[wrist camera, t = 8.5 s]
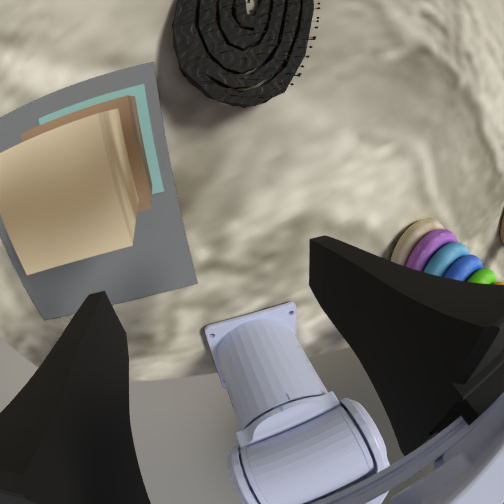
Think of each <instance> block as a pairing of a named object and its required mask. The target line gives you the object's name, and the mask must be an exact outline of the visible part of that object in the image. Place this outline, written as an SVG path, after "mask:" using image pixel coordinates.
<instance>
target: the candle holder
mask: <svg viewBox="0 0 504 504" xmlns="http://www.w3.org/2000/svg"><path fill="white" fill-rule="evenodd" d="M500 238H501V241H502V243H503V244H504V213H503V217H502V222H501V228H500Z"/></svg>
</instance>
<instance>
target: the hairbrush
mask: <svg viewBox="0 0 504 504" xmlns="http://www.w3.org/2000/svg"><path fill="white" fill-rule="evenodd" d="M248 1H249V2H248ZM248 1H247V2H248V3H250V0H248ZM216 2H217V0H200V1H199V4H198V9H197V18H196V20H197V26H198V32H197V29H196V27H195V25H194V19H195V11H196V4H197V0H178V2H177V7H176V12H175V17H174V21H173V25H172V27H173V40H174V49H175V52H176V55H177V58H178V62H179V67H180V71H181V72H182V74H183V75H184V76H185V77H186V78H187V80H188V81H189V82H190V83H191V84H192V85H194V86H195V87H196V88H198V89H199V90H200V91H201V92H202V93H203V94H204V95H205V96H206V97H208V98H211V99H214V100H217V101H220V102H223V103H226V104H229V105H232V106H240V107H243V108H245V107H249V106H256V105H258V104H262V103H266V102H267V101H268V100H270V99H271V98H273V97H275V96H277V95H279V94H282V93H284V92H285V91H286V89H287V87H288V85H289V83H290V82H291V80H292V78H293V76H298V77H300V75H301V73H298V75H294V74H295V73H296V71H297V69H298V67H299V66H300V64H301V62H302V60H303V59H304V57H305V54H306V48H307V43H308V40H315V38H316V36H314V37H309V32H310V27H311V21H312V16H313V10H314V3H313V0H301V2H300V0H286V1H285V9H284V0H271V3H270V0H258V9H257V11H256V12H255V14H254V15H248V14H247V10H246V1H245V0H235V1H234V3H233V0H219V1H218V21H215V19H216V18H217V17H216V7H217V6H216ZM300 3H301V6H300ZM232 4H234V7H232ZM318 4H320V3H318ZM269 6H270V11H269ZM232 8H233V16H232V15H231V9H232ZM315 9H320V7H318V8H315ZM283 11H284V15H283ZM249 12H252V10H250V11H249ZM268 12H270V13H268ZM299 12H300V13H299ZM268 14H269V17H268ZM282 16H283V19H282ZM298 17H299V19H298ZM267 18H268V22H267ZM317 19H319V17H317ZM235 20H236V21H235ZM282 20H283V21H282ZM281 21H282V23H281ZM297 21H298V24H297ZM216 22H217V24H216ZM313 22H315V21H313ZM316 22H319V21H318V20H317V21H316ZM267 23H268V24H267ZM266 24H267V25H266ZM265 25H266V26H267V29H266V28H265V29H266V31H265V30H264V31H263V29H264V27H265ZM297 25H298V26H297ZM296 26H297V30H296ZM240 27H241V28H240ZM280 27H281V28H280ZM243 28H244V29H243ZM315 28H318V27H315ZM280 31H281V33H280ZM264 32H265V33H264ZM198 33H199V34H198ZM262 33H263V35H262V38H261V40H260V42H259V43H258V44H257V45H256V46H255V47H253V48H251V49H250V50H248V51H246V52H243V51H242V50H245V49H247V48H249V47H251V46H252V45H253V44H254V43H255V42H257V41H258V40H259V39H260V36H261V34H262ZM199 36H200V37H199ZM294 36H295V37H294ZM308 38H313V39H308ZM224 40H225V41H224ZM293 40H294V41H293ZM225 42H226V43H225ZM275 46H276V47H275ZM274 47H275V49H274ZM309 48H312V46H309ZM273 49H274V50H273ZM205 50H206V51H207V53H208V54H209V56H208V54H207V53H206V51H205ZM272 50H273V51H272ZM271 51H272V53H271ZM270 53H271V54H270ZM269 54H270V56H269V57H268V55H269ZM210 57H211V59H212V60H213V61H212V60H211V59H210ZM267 57H268V59H267V60H266V61H265V59H266V58H267ZM306 57H307V58H308V57H309V56H306ZM264 61H265V63H264V64H263V66H262V67H261V68H260V69H259V70H258V71H256V72H253V73H251V74H248V75H241V74H240V73H243V74H244V73H246V72H248V71H251V70H253V69H254V68H256V67H258V66H260V65H262V63H263V62H264ZM284 61H285V63H284V64H283V65H282V66H281V64H282V63H283V62H284ZM280 66H281V67H280ZM279 67H280V68H279ZM301 67H304V66H303V65H302V66H301ZM278 69H279V70H278ZM225 70H226V71H227V72H231V73H233V74H231V73H227V72H226V71H225ZM276 71H277V72H276ZM275 73H276V74H275ZM274 74H275V75H274ZM273 75H274V76H273ZM272 76H273V77H272ZM269 77H272V79H270V80H268V81H267V82H265V83H264V84H262V85H261V86H259V87H256V88H253V89H250V90H247V91H239V92H236V91H233V90H230V89H227V88H233V89H239V88H248V87H250V86H254V85H256V84H258V83H260V82H262V81H263V80H265V79H267V78H269ZM215 83H217V84H218V85H220V86H218V85H215ZM290 85H294V84H293V83H291V84H290Z"/></svg>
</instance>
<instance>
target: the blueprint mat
mask: <svg viewBox="0 0 504 504" xmlns="http://www.w3.org/2000/svg"><path fill="white" fill-rule="evenodd" d="M127 95H129V96H135V99H136V105H137V111H138V117H139V122H140V128H141V133H142V138H143V143H144V148H145V153H146V158H147V163H148V167H149V172H150V176H151V181H152V204H151V209H148V210H144V211H141V212H137V216H136V223H135V230H134V238H133V246H130V247H126V248H122V249H118V250H115V251H111V252H107V253H103V254H100V255H96V256H92V257H89V258H85V259H82V260H78V261H74V262H71V263H67V264H64V265H60V266H57V267H54V268H50V269H47V270H43V271H40V272H37V273H33V274H30V275H27V274H26V272H25V270H24V268H23V266H22V264H21V262H20V260H19V258H18V255H17V253H16V251H15V249H14V247H13V244H12V242H11V240H10V237H9V235H8V233H7V230H6V228H5V225H4V223H3V220H2V217H1V215H0V237H1V239H2V241H3V244H4V246H5V248H6V250H7V253H8V255H9V257H10V259H11V261H12V263H13V265H14V267H15V269H16V271H17V273H18V275H19V277H20V279H21V281H22V283H23V285H24V287H25V288H26V290H27V292H28V294H29V296H30V297H31V299H32V301H33V303H34V304H35V306H36V308H37V309H38V311H39V313H40V314H41V316H42V317H43V319H44V320H48V319H53V318H57V317H62V316H66V315H70V314H75V313H76V312H77V311H78V309H79V308H80V306H81V305H82V303H83V302H84V300H85V299H86V298H87V297H88V295H89V294H93V293H97V292H101V291H105V292H106V294H107V296H108V298H109V301H110V303H111V305H113V304H117V303H121V302H125V301H130V300H134V299H138V298H142V297H146V296H150V295H154V294H158V293H162V292H166V291H170V290H174V289H178V288H182V287H186V286H190V285H194V284H198V282H197V279H196V275H195V271H194V267H193V263H192V259H191V255H190V251H189V246H188V242H187V238H186V234H185V230H184V225H183V221H182V216H181V212H180V207H179V203H178V198H177V193H176V189H175V184H174V179H173V174H172V169H171V164H170V159H169V153H168V148H167V143H166V137H165V131H164V126H163V120H162V114H161V108H160V101H159V95H158V88H157V81H156V74H155V67H154V62H151V63H146V64H142V65H138V66H133V67H129V68H126V69H122V70H118V71H115V72H111V73H108V74H104V75H101V76H98V77H95V78H92V79H89V80H86V81H83V82H80V83H77V84H74V85H71V86H69V87H66V88H63V89H61V90H58V91H56V92H53V93H51V94H49V95H46V96H44V97H42V98H39V99H37V100H35V101H33V102H30V103H28V104H26V105H24V106H22V107H20V108H18V109H16V110H14V111H12V112H10V113H8V114H6V115H4V116H2V117H0V153H1V152H3V151H5V150H7V149H9V148H11V147H13V146H16V145H18V144H20V143H22V139H21V134H22V133H24V132H26V131H28V130H30V129H33V128H35V127H37V126H39V125H42V124H44V123H47V122H49V121H52V120H54V119H57V118H59V117H62V116H64V115H67V114H70V113H72V112H75V111H78V110H81V109H84V108H87V107H90V106H93V105H96V104H99V103H102V102H106V101H109V100H112V99H116V98H119V97H123V96H127Z"/></svg>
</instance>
